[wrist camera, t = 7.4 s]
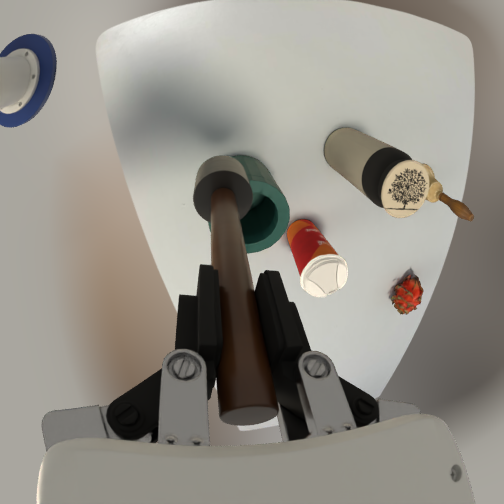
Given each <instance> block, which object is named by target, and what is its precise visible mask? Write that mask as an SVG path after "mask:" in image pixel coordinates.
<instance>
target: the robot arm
mask: <svg viewBox="0 0 504 504" xmlns="http://www.w3.org/2000/svg"><path fill="white" fill-rule="evenodd" d="M39 75H40V65H39V60H38V57H37V56H36V54H35V53H34V52H33V51H32V50H30V49H17V50H15V51H13V52H11V53H10V54H9V55H8V56H7V57H0V111H1V112H3V113H6V114H11V113H14V112H17V111H19V110H20V109H22V108H23V107H24V106H25V105H26V104H27V103H28V102H29V101H30V99H31V98H32V96H33V94H34V92H35V90H36V87H37V84H38V81H39ZM255 296H256V301H257V306H258V311H259V316H260V320H261V325H262V330H263V335H264V340H265V345H266V349H267V354H268V359H269V364H270V368H271V373H272V378H273V383H274V387H275V392H276V397H277V402H278V406H279V413H278V415H277V418H278V422H279V427H280V431H281V436H282V440H283V442H278V443H269V444H257V445H240V446H210V437H209V420H208V400H209V399H210V398H211V393H212V388H213V387H214V385H215V380H216V369H217V367H218V366H219V362H220V358H221V353H222V348H223V334H222V321H221V307H220V291H219V274H218V269H214V268H213V265H202V264H200V269H199V277H198V286H197V296H191V295H180V294H179V303H178V315H177V328H176V341H175V350H174V351H172V352H170V353H169V354H167V356H166V357H165V358H164V361H163V364H162V369H160V370H159V371H157V372H156V373H154V374H153V375H152V376H150V377H149V378H147V379H146V380H144V381H143V382H141V383H140V384H138V385H137V386H135V387H134V388H132V389H131V390H129V391H128V392H126V393H125V394H123V395H122V396H120V397H119V398H117V399H116V400H114V401H113V402H112V403H111V404H110V405H108V406H102V407H99V405H95V406H89V407H81V408H73V409H65V410H55V411H51V412H48V413H47V414H46V415H45V416H44V418H43V420H42V431H43V436H44V442H45V446H46V451H47V452H46V454H45V456H44V458H43V460H42V464H41V467H40V472H39V478H38V486H37V504H475V500H474V496H473V492H472V488H471V484H470V481H469V478H468V474H467V471H466V468H465V465H464V462H463V459H462V456H461V453H460V451H459V448H458V446H457V443H456V441H455V439H454V437H453V435H452V433H451V431H450V429H449V428H448V426H447V425H446V424H445V422H444V421H443V420H441V419H440V418H438V417H435V416H432V415H427V414H421V412H420V410H419V408H418V407H417V406H416V405H414V404H412V403H406V402H398V401H391V400H383V399H378V400H377V401H376V400H375V399H374V398H373V397H372V396H370V395H369V394H367V393H366V392H364V391H362V390H361V389H359V388H357V387H356V386H354V385H352V384H351V383H349V382H347V381H346V380H344V379H342V378H341V377H339V376H338V374H337V372H336V369H335V366H334V364H333V362H332V360H331V359H330V358H329V357H328V356H327V355H325V354H323V353H321V352H318V351H311V349H310V346H309V343H308V340H307V337H306V334H305V331H304V328H303V325H302V322H301V319H300V316H299V313H298V310H297V307H296V305H295V303H294V302H289V300H288V297H287V294H286V291H285V288H284V285H283V282H282V279H281V276H280V273H279V272H278V271H269V270H265V272H264V273H260V275H259V278H258V282H257V285H256V289H255ZM157 441H158V444H156V442H157Z"/></svg>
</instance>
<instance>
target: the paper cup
mask: <svg viewBox="0 0 504 504" xmlns="http://www.w3.org/2000/svg"><path fill="white" fill-rule="evenodd" d="M287 238H288V241H289V245H290V248H291V250H292V253H293V256H294V259H295V262H296V265H297V268H298V271H299V274H300V283H301V286H302V288H303V289H304V290H305V291H306V292H308V293H309V294H310V295H312V296H315V297H326V295H328V294H329V295H330V294H332V293H334V292H336V290H338V289H339V290H340V289H341V288H342V287H343V285H344V284H345V282H346V280H347V277H348V271H347V270H348V267H347V263H346V261H345V260H344V259H343V258H342V257H341V256H339V255H338V254H337V253H336V251H335V250H334V249H333V247H332V246H331V245H330V244H329V242H328V241H327V240H326V238H325V237H324V236H323V235H322V233H321V232H320V231H319V230H318V229H317V227H316V226H315V225H314V224H313V223H312V222H311V221H309V220H306V219H300V220H297V221H295V222H293V223H292V224H291V225H290V226H289V228H288V231H287Z"/></svg>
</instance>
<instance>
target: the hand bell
mask: <svg viewBox="0 0 504 504" xmlns="http://www.w3.org/2000/svg"><path fill="white" fill-rule="evenodd" d="M422 165H423V166H424V167H425V169H426V171H427V173H428V176H429V191H428V194H427V197H426V199H425V200H428V201H430V202H436V201H438V200H440V201H442V202H443V203H445V204H446V205H448V206H449V207H450V209H451V210H452V211H453V213H455V214H456V215H457V216H458V217H460V218H462V219H465V220H469V221H472V220H473V219H474V215H473V214H472V213H471V211H470V210H469V208H468V207H467V206H466V205H465V204H463V203H462V202H460V201H458V200H454V199H451V198H450V197H448V196H447V195H446V194H444V193H442V192H443V188H442V185H441V184H440V183H439V182H438V181H437V180H436V179H435V177H434V173H433V171H432V169H431V168H430V167H429V166H428V165H426V164H422Z"/></svg>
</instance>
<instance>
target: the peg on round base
mask: <svg viewBox="0 0 504 504" xmlns="http://www.w3.org/2000/svg"><path fill="white" fill-rule="evenodd" d="M193 202H194V206H195V209H196V211H197V212H198V214H199V215H200V216H201V217H202V218H203V219H205V220H206V221H208V222H210V223H211V265H213V268H214V269H218V274H219V291H220V307H221V321H222V334H223V348H222V353H221V358H220V362H219V366H218V367H217V369H216V380H217V393H218V406H219V417H220V419H221V420H222V421H223V422H225V423H227V424H231V425H240V426H244V425H254V424H259V423H263V422H266V421H268V420H271V419H273V418H274V417H276V416H277V415H278V413H279V406H278V402H277V397H276V392H275V387H274V383H273V378H272V373H271V368H270V364H269V359H268V354H267V349H266V345H265V340H264V335H263V330H262V325H261V320H260V316H259V311H258V306H257V301H256V296H255V291H254V286H253V282H252V277H251V272H250V267H249V262H248V257H247V252H246V247H245V242H244V237H243V232H242V227H241V222H240V219H242V218H243V217H244V216H245V215H246V214H247V213H248V211H249V210H250V208H251V205H252V202H253V192H252V188H251V186H250V183H249V180H248V177H247V175H246V172H245V169H244V167H243V166H242V165H241V163H240V162H239V161H237V160H236V159H234V158H232V157H229V156H215V157H212V158H210V159H208V160H206V161H205V162H204V163H203V164H202V165H201V167H200V168H199V170H198V172H197V176H196V182H195V188H194V195H193Z"/></svg>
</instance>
